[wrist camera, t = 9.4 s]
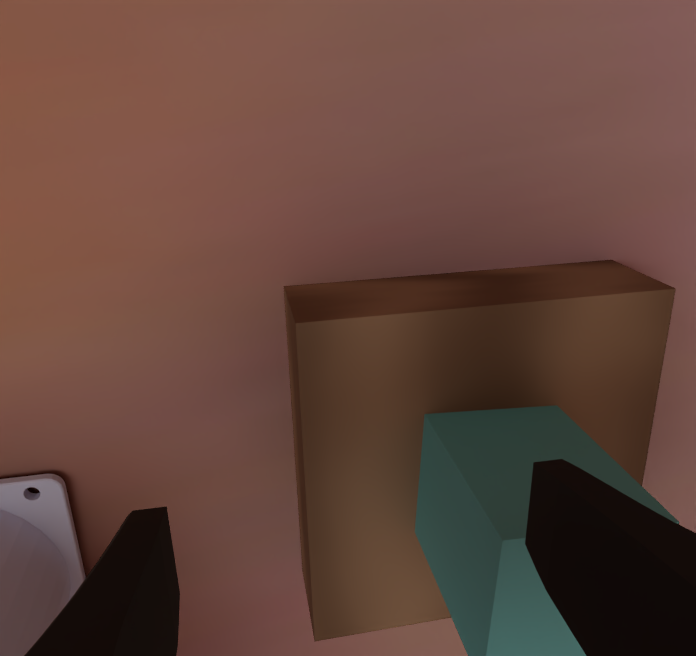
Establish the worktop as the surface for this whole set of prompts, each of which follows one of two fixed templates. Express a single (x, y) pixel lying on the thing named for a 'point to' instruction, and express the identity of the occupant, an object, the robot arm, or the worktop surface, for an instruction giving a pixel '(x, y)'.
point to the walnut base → (447, 405)
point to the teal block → (500, 521)
